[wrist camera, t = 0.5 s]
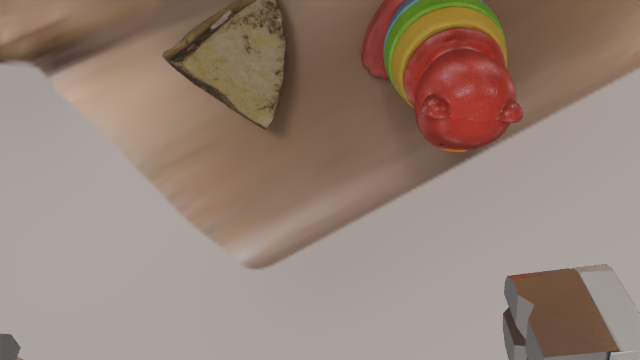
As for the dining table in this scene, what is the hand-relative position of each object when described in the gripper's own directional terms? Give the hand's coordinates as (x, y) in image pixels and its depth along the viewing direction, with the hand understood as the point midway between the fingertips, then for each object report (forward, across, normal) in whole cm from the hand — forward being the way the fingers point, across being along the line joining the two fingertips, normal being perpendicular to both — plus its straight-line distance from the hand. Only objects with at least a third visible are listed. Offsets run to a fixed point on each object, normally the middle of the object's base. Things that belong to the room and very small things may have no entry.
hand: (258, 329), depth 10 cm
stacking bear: (+44, -10, +12) cm, 47 cm away
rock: (+46, +4, +8) cm, 46 cm away
